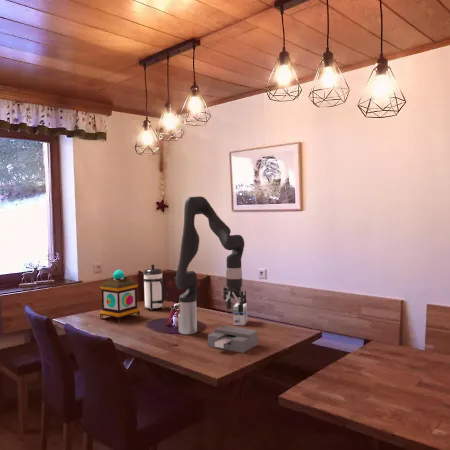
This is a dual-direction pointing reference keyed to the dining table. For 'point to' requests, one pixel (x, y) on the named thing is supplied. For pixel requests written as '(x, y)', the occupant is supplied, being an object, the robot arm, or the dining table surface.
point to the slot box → (238, 344)
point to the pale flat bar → (224, 341)
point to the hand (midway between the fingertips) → (234, 310)
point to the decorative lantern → (119, 296)
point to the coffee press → (153, 288)
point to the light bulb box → (240, 315)
